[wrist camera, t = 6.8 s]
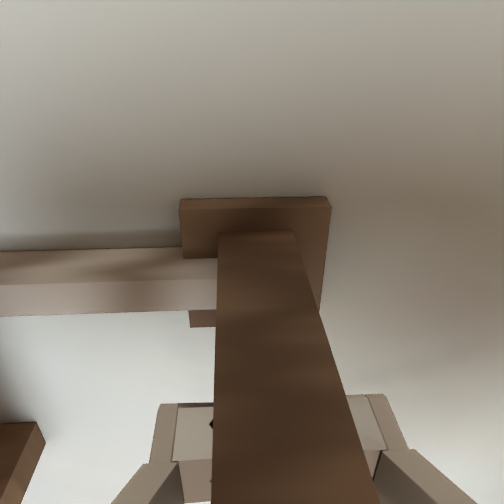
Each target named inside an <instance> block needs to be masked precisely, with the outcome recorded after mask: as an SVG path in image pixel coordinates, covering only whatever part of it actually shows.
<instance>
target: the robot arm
mask: <svg viewBox="0 0 504 504" xmlns="http://www.w3.org/2000/svg"><path fill="white" fill-rule="evenodd" d="M346 398H347V401H348V404H349V407H350V411H351V414H352V417H353V420H354V423H355V426H356V429H357V432H358V435H359V439H360V442H361V445H362V448H363V451H364V454H365V457H366V460H367V463H368V467H369V470H370V473H371V476H372V479H373V482H374V485H375V488H376V491H377V495H378V498H379V501H380V504H477V503H476V502H475V501H474V500H473V499H471V498H470V497H469V496H468V495H467V494H466V493H465V492H463V491H462V490H461V489H460V488H459V487H458V486H456V485H455V484H454V483H453V482H452V481H451V480H449V479H448V478H447V477H446V476H445V475H444V474H443V473H441V472H440V471H439V470H438V469H437V468H436V467H434V466H433V465H432V464H431V463H430V462H429V461H428V460H426V459H425V458H424V457H423V456H422V455H421V454H419V453H418V452H417V451H416V450H415V449H409V448H408V446H407V444H406V441H405V439H404V437H403V434H402V432H401V430H400V428H399V425H398V423H397V421H396V418H395V416H394V414H393V411H392V409H391V407H390V404H389V402H388V400H387V397H386V396H385V395H384V394H368V395H364V394H359V395H346ZM213 409H214V402H212V403H170V404H160V406H159V409H158V413H157V419H156V424H155V430H154V436H153V442H152V448H151V454H150V460H149V463H148V464H143V465H142V466H141V467H140V468H139V470H138V471H137V472H136V473H135V475H134V476H133V477H132V478H131V480H130V481H129V482H128V483H127V484H126V486H125V487H124V488H123V489H122V491H121V492H120V493H119V494H118V496H117V497H116V498H115V499H114V501H113V502H112V503H111V504H184V503H194V502H205V501H211V481H212V445H213Z"/></svg>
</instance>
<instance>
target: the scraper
mask: <svg viewBox="0 0 504 504" xmlns="http://www.w3.org/2000/svg"><path fill="white" fill-rule="evenodd" d="M331 207H332V206H331V205H330V203H329V201H328V199H327V198H326V197H282V198H230V199H181V201H180V206H179V219H180V230H181V240H182V247H170V248H131V249H92V250H54V251H15V252H0V317H5V316H33V315H62V314H91V313H120V312H149V311H178V310H189V320H190V328H194V327H216V337H215V373H214V409H213V445H212V481H211V504H380V501H379V498H378V495H377V491H376V488H375V485H374V482H373V479H372V476H371V473H370V470H369V467H368V463H367V460H366V457H365V454H364V451H363V448H362V445H361V442H360V439H359V435H358V432H357V429H356V426H355V423H354V420H353V417H352V414H351V411H350V407H349V404H348V401H347V398H346V395H345V392H344V389H343V386H342V383H341V379H340V376H339V373H338V370H337V367H336V364H335V361H334V358H333V355H332V351H331V348H330V345H329V342H328V339H327V336H326V333H325V330H324V327H323V323H322V320H321V317H320V314H319V309H320V300H321V292H322V283H323V275H324V266H325V258H326V250H327V241H328V233H329V224H330V216H331Z"/></svg>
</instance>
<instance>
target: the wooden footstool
mask: <svg viewBox="0 0 504 504" xmlns="http://www.w3.org/2000/svg"><path fill="white" fill-rule="evenodd" d="M45 444H46V443H45V441H44V439H43V436H42V434H41V432H40V430H39V428H38V425H37V423H36V422H32V423H15V424H0V504H21V502H22V499H23V497H24V495H25V492H26V490H27V487H28V485H29V483H30V480H31V478H32V475H33V473H34V470H35V468H36V466H37V463H38V461H39V458H40V456H41V454H42V451H43V449H44V446H45Z"/></svg>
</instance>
